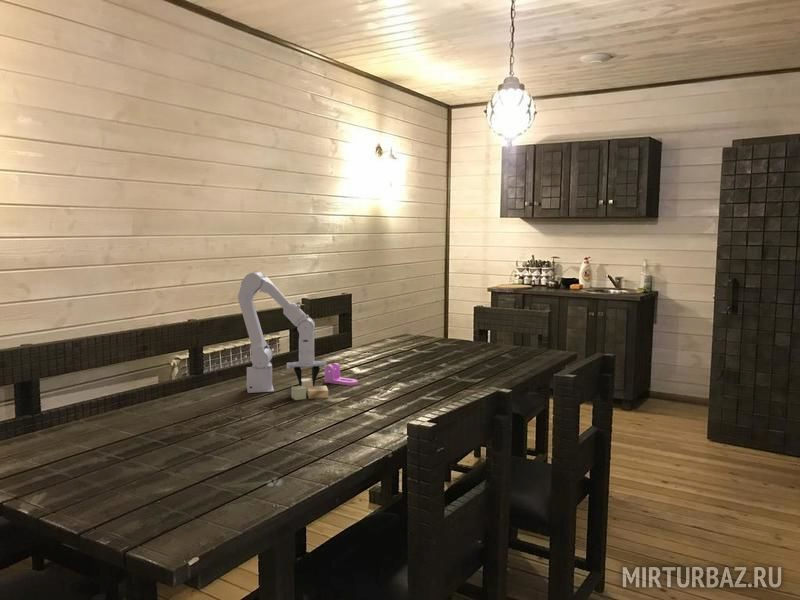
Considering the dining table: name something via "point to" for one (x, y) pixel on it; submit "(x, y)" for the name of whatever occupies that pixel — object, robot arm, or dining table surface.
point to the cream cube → (307, 382)
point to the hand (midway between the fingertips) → (306, 386)
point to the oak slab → (317, 392)
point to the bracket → (337, 376)
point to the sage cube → (298, 392)
